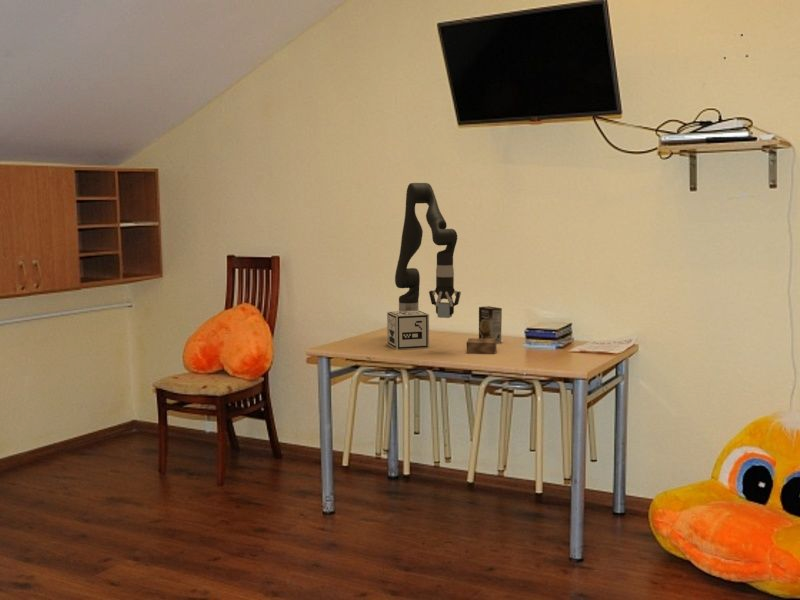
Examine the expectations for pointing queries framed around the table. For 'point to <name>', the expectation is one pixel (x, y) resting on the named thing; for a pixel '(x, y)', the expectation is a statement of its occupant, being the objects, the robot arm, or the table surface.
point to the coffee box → (490, 323)
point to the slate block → (444, 310)
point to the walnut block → (481, 346)
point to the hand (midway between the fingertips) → (444, 314)
